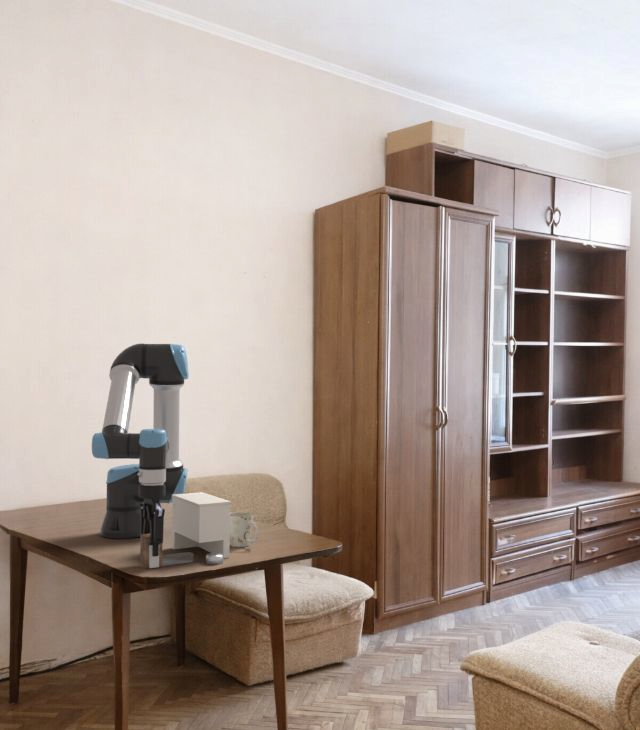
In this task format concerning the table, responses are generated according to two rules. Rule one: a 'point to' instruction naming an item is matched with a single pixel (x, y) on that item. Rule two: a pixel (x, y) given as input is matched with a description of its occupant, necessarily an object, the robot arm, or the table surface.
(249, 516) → the mug
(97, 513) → the table surface
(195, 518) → the cabinet
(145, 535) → the blade tool
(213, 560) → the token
